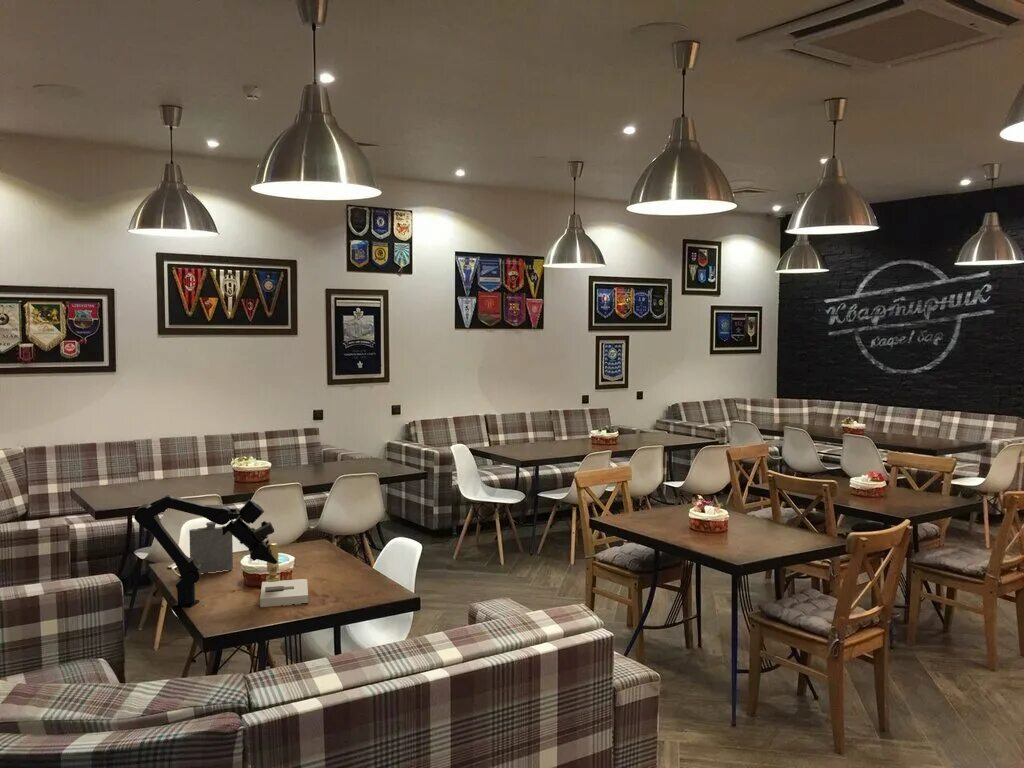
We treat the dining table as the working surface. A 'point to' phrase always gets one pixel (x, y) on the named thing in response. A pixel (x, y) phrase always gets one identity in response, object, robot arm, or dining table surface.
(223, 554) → the hip flask
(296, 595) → the keyhole plate
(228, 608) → the dining table surface
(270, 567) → the brass peg
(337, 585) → the dining table surface
